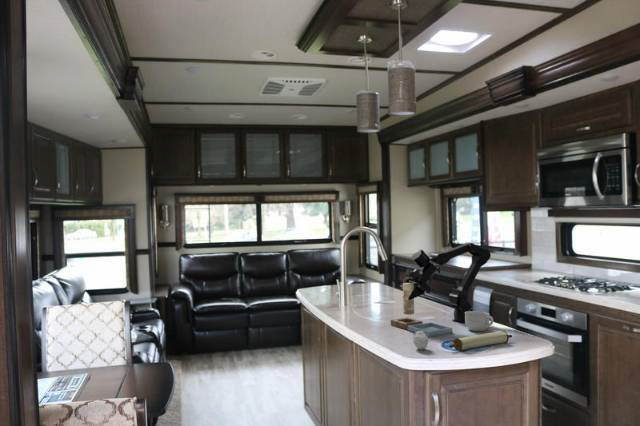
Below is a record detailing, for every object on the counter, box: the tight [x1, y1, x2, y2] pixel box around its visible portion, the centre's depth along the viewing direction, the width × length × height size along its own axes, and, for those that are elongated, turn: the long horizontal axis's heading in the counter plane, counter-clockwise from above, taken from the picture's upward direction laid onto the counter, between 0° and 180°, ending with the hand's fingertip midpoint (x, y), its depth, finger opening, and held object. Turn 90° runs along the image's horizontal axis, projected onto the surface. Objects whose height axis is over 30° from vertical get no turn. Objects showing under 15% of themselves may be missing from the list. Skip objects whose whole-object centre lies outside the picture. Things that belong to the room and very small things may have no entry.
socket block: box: [390, 316, 423, 330], centre depth 235 cm, size 11×11×2 cm
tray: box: [407, 321, 453, 338], centre depth 222 cm, size 14×14×2 cm
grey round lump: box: [412, 331, 429, 351], centre depth 195 cm, size 6×7×7 cm
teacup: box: [464, 310, 494, 332], centre depth 222 cm, size 14×11×8 cm
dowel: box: [402, 282, 415, 316], centre depth 233 cm, size 5×5×14 cm
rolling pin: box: [448, 330, 513, 352], centre depth 197 cm, size 32×6×5 cm, turn 114°
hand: (406, 298), depth 232 cm, fingers closed on dowel, 5 cm apart
